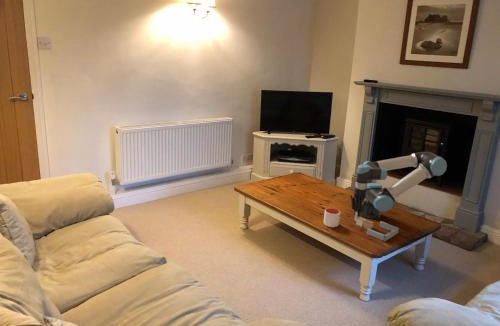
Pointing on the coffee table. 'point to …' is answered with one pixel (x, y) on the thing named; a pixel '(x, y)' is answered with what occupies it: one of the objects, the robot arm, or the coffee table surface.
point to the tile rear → (360, 222)
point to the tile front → (368, 224)
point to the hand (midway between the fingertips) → (356, 220)
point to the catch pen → (380, 236)
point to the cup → (331, 217)
